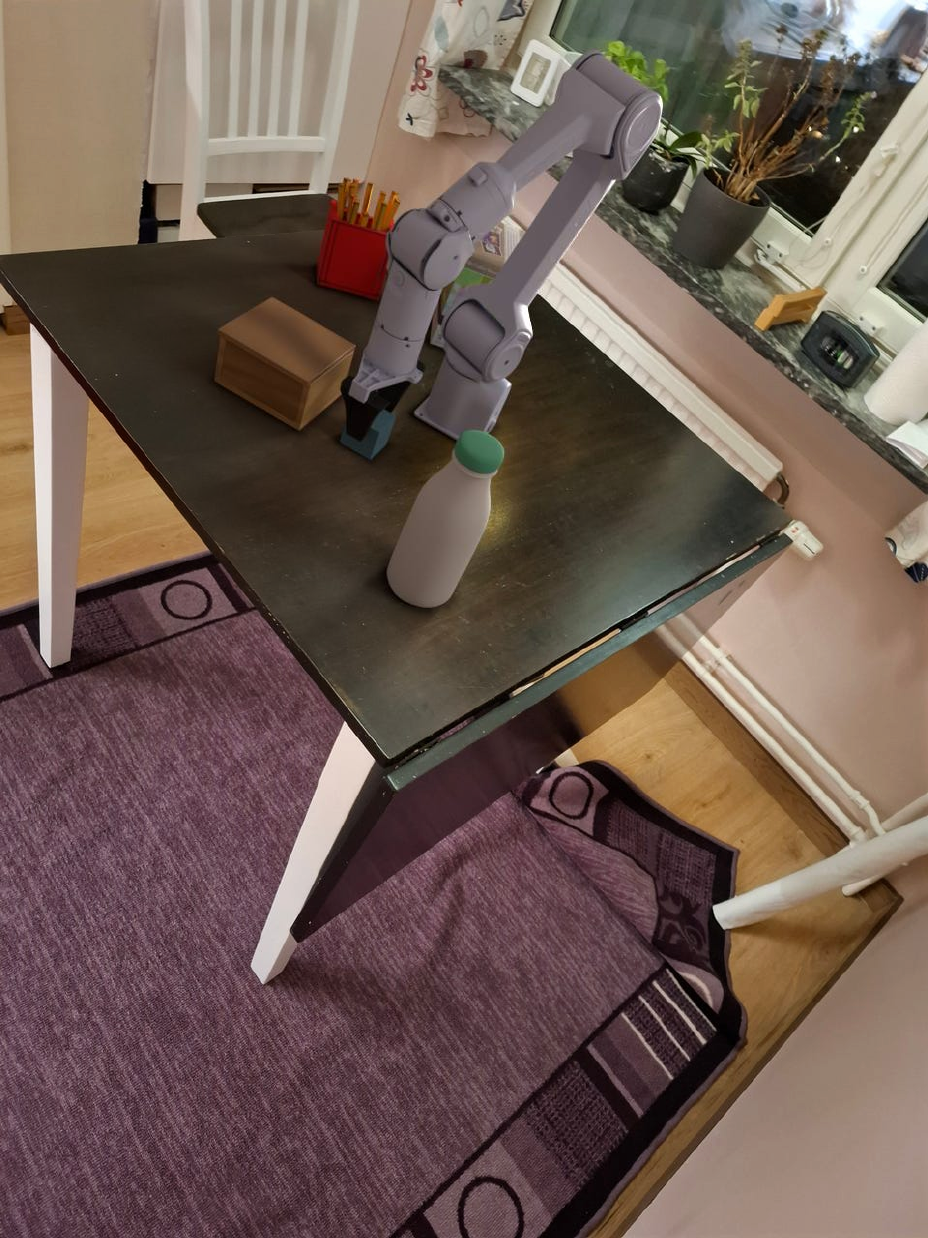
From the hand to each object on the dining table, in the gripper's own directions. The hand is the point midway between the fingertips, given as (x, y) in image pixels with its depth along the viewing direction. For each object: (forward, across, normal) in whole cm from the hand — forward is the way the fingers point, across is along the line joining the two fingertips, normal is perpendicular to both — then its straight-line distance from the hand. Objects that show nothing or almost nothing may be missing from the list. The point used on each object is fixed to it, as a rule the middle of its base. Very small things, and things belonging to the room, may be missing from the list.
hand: (369, 422), depth 100 cm
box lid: (-4, +1, +13) cm, 13 cm away
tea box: (+3, +36, +2) cm, 36 cm away
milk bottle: (+3, -16, -16) cm, 23 cm away
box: (+3, +1, +13) cm, 13 cm away
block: (+3, 0, 0) cm, 3 cm away
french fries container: (+3, +31, +20) cm, 37 cm away
